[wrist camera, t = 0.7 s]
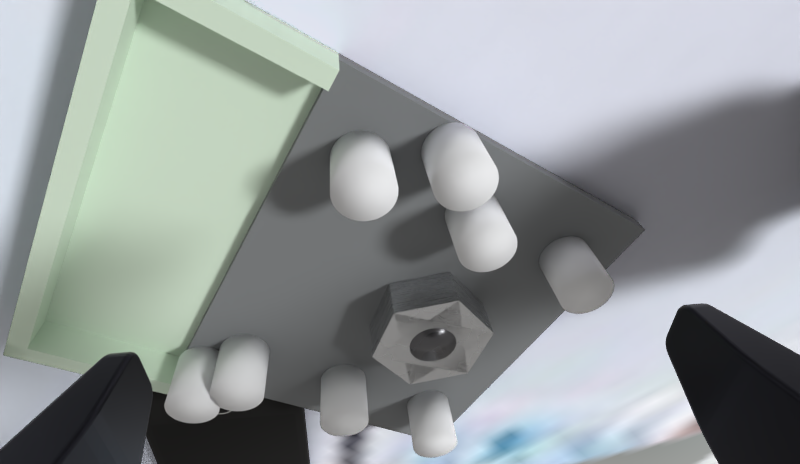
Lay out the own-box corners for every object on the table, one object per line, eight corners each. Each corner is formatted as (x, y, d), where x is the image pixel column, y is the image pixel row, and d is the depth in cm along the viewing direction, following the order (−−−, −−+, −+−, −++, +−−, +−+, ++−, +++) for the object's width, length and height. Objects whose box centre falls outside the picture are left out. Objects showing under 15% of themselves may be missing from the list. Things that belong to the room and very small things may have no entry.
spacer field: (639, 217, 24) (679, 261, 21) (432, 429, 32) (442, 481, 29) (136, -68, 15) (93, -57, 13) (25, 322, 23) (-15, 381, 21)
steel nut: (496, 282, 24) (508, 311, 23) (447, 360, 27) (455, 391, 26) (400, 259, 23) (406, 289, 21) (360, 345, 26) (362, 377, 24)
